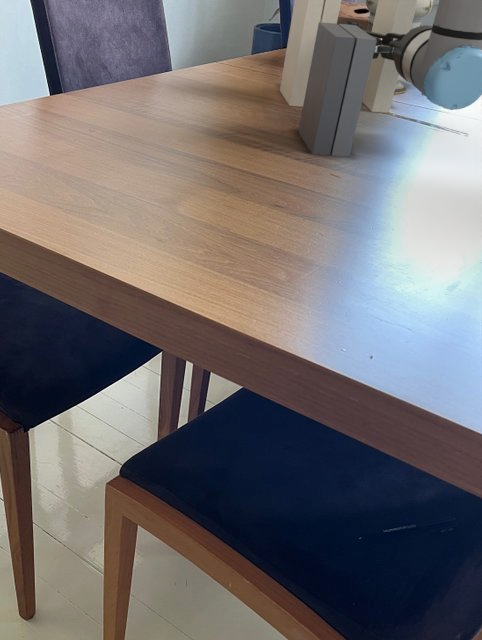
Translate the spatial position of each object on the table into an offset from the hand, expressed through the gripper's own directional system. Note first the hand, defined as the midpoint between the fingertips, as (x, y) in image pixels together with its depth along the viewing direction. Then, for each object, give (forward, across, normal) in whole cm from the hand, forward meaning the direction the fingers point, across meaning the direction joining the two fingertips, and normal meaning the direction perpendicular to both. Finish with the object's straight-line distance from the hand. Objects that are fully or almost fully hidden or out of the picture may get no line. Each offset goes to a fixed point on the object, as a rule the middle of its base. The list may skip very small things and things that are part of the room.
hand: (388, 33), depth 123 cm
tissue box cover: (+33, +4, -11) cm, 35 cm away
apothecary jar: (+13, +5, -11) cm, 18 cm away
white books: (-1, -13, -11) cm, 17 cm away
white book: (-1, 0, -11) cm, 11 cm away
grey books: (-31, -15, -11) cm, 37 cm away
